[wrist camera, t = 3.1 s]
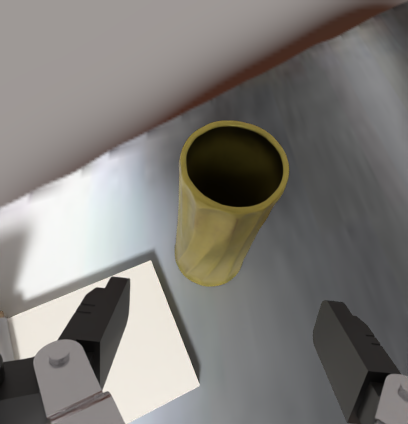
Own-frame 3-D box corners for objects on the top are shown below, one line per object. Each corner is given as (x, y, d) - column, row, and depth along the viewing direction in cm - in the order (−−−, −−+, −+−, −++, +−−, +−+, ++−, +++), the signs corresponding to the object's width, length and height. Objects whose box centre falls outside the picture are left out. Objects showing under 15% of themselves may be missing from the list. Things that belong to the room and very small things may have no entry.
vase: (174, 221, 28) (169, 111, 15) (239, 219, 29) (287, 112, 16) (175, 288, 26) (171, 224, 13) (247, 285, 26) (311, 220, 13)
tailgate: (152, 263, 27) (149, 256, 25) (199, 384, 23) (200, 387, 21) (-1, 326, 24) (-17, 323, 22) (26, 474, 20) (10, 487, 18)
